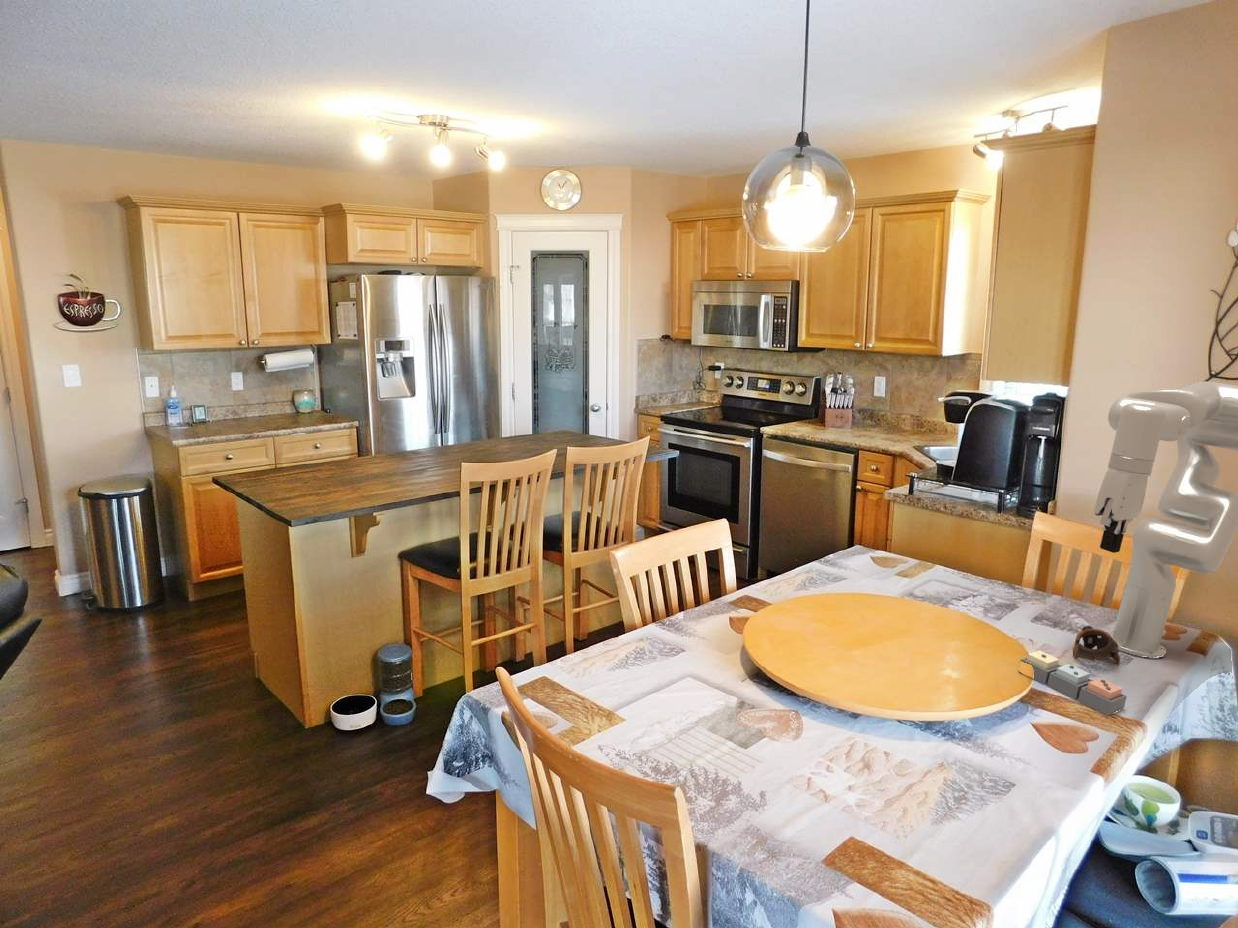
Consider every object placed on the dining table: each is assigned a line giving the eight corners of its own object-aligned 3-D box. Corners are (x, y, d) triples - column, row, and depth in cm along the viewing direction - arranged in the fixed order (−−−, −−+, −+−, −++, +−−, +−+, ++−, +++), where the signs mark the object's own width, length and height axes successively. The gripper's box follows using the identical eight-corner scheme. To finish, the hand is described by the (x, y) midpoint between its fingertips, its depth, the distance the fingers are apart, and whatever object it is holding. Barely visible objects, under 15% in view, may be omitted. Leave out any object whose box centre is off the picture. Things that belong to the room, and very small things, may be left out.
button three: (1095, 695, 166) (1100, 676, 164) (1117, 706, 162) (1122, 687, 161) (1084, 700, 163) (1088, 681, 162) (1106, 711, 160) (1111, 691, 159)
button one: (1035, 667, 176) (1040, 649, 175) (1055, 676, 173) (1059, 658, 171) (1024, 670, 174) (1028, 652, 173) (1043, 680, 170) (1048, 661, 169)
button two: (1064, 681, 171) (1069, 662, 170) (1085, 690, 167) (1090, 672, 166) (1053, 685, 168) (1057, 666, 167) (1073, 695, 165) (1078, 676, 164)
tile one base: (1034, 666, 177) (1036, 654, 177) (1060, 679, 172) (1063, 666, 172) (1018, 671, 174) (1021, 659, 173) (1044, 684, 169) (1047, 671, 168)
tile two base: (1062, 680, 172) (1065, 667, 171) (1091, 693, 167) (1094, 680, 166) (1046, 685, 169) (1050, 672, 168) (1075, 699, 164) (1078, 686, 163)
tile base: (1093, 694, 167) (1096, 681, 166) (1123, 709, 162) (1127, 695, 161) (1077, 701, 164) (1080, 687, 163) (1107, 715, 159) (1111, 702, 158)
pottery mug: (1130, 673, 179) (1126, 647, 176) (1085, 684, 181) (1080, 658, 178) (1104, 637, 190) (1099, 611, 186) (1062, 648, 192) (1057, 623, 188)
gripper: (1130, 458, 170) (1109, 540, 174) (1092, 462, 162) (1071, 548, 166) (1168, 467, 164) (1146, 552, 168) (1131, 471, 156) (1108, 560, 160)
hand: (1109, 550), depth 167 cm, fingers closed
